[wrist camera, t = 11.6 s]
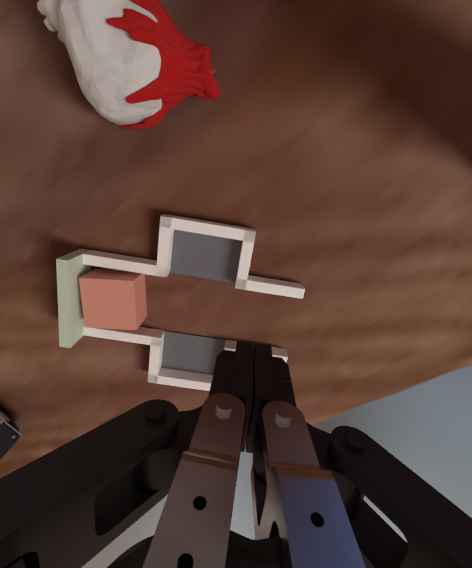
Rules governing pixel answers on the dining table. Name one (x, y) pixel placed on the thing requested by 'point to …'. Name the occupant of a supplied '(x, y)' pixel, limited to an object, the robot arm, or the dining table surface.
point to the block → (113, 299)
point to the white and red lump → (130, 58)
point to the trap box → (170, 259)
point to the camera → (7, 433)
